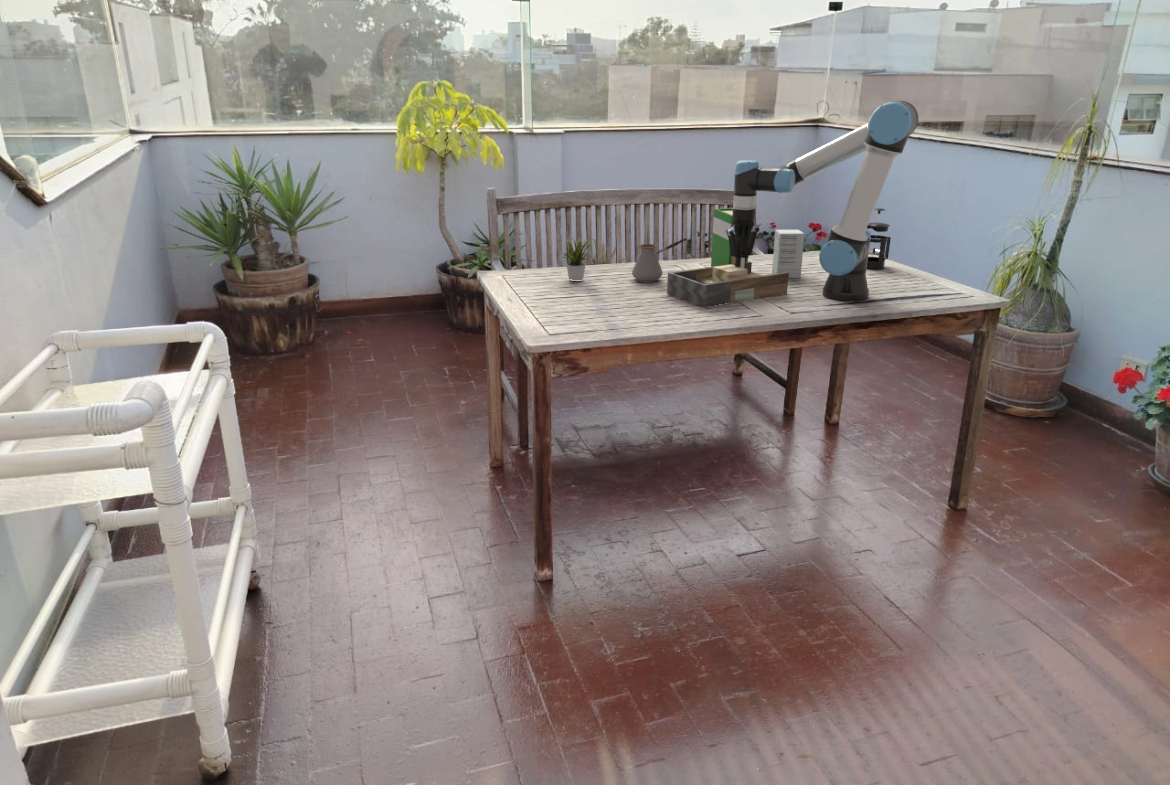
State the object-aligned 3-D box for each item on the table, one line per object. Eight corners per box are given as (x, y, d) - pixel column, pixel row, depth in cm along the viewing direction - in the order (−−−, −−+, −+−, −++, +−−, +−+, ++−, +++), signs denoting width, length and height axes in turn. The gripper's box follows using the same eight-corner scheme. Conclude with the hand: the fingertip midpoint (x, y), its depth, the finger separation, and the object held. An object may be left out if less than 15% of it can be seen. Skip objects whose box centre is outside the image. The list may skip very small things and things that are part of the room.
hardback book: (746, 280, 297) (751, 215, 289) (727, 281, 296) (731, 215, 287) (728, 270, 313) (732, 208, 305) (710, 271, 312) (714, 208, 303)
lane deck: (786, 294, 278) (788, 272, 275) (703, 307, 262) (704, 285, 259) (747, 281, 295) (749, 261, 292) (667, 293, 279) (667, 272, 276)
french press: (868, 270, 311) (875, 211, 303) (853, 265, 320) (860, 207, 311) (893, 268, 315) (901, 209, 306) (877, 263, 323) (885, 206, 315)
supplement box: (801, 278, 300) (805, 233, 294) (776, 278, 300) (780, 233, 294) (795, 272, 309) (799, 229, 302) (771, 272, 309) (774, 229, 303)
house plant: (605, 278, 300) (605, 235, 295) (588, 286, 289) (588, 241, 283) (571, 274, 307) (571, 232, 301) (553, 282, 295) (553, 238, 289)
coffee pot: (636, 284, 292) (637, 243, 287) (627, 277, 302) (628, 237, 297) (691, 281, 296) (693, 240, 291) (681, 274, 307) (683, 235, 301)
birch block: (746, 283, 276) (747, 269, 274) (728, 286, 272) (729, 272, 270) (730, 278, 283) (731, 264, 281) (712, 281, 279) (712, 266, 278)
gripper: (751, 204, 276) (747, 271, 285) (722, 207, 271) (718, 276, 279) (766, 207, 270) (761, 276, 279) (736, 211, 264) (731, 280, 273)
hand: (739, 276), depth 279 cm, fingers closed
